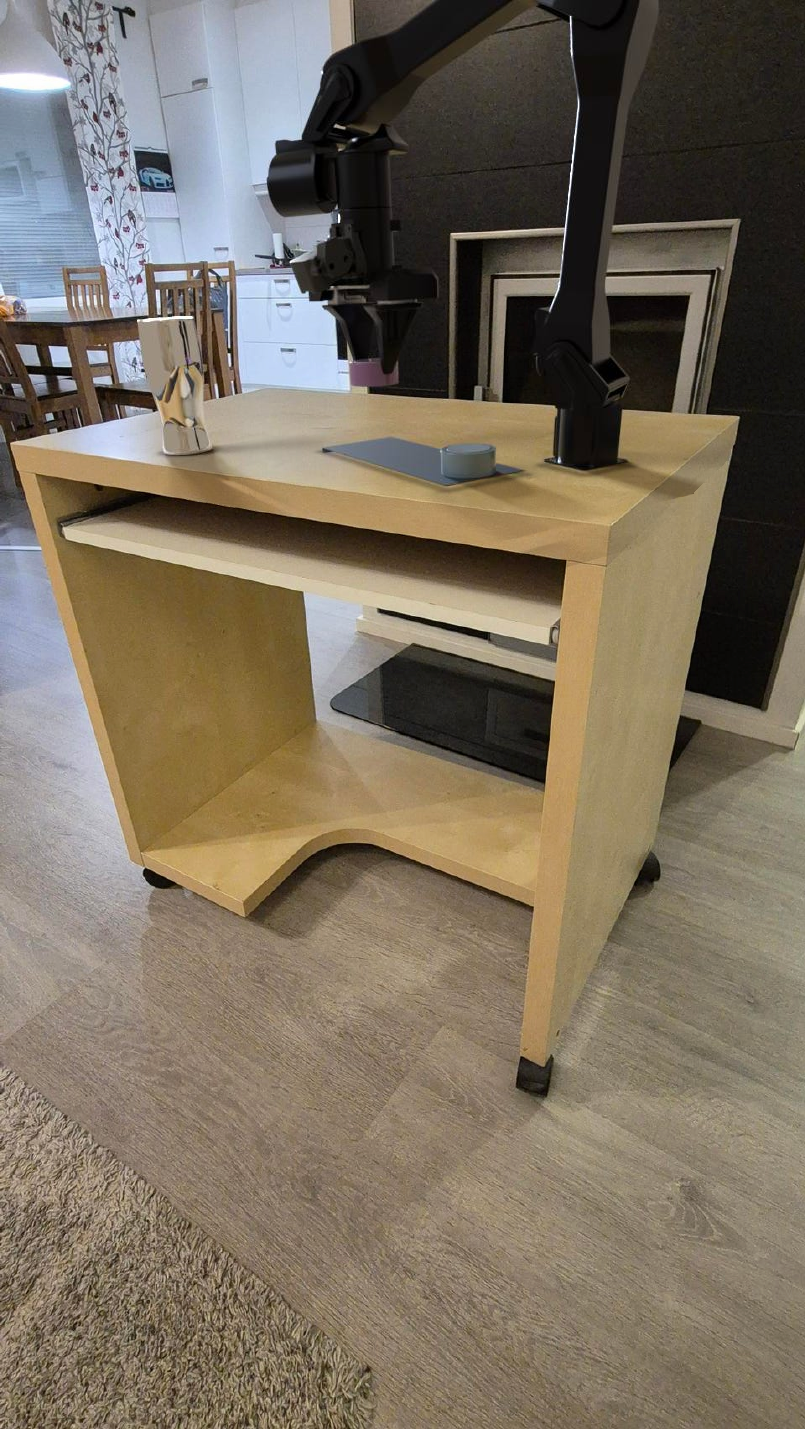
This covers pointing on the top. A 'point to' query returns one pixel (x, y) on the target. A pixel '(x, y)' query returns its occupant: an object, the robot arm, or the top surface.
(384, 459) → the placemat
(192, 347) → the beer glass
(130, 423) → the top surface
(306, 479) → the top surface
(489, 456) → the grey-blue puck
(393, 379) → the purple puck
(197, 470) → the top surface
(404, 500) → the top surface
